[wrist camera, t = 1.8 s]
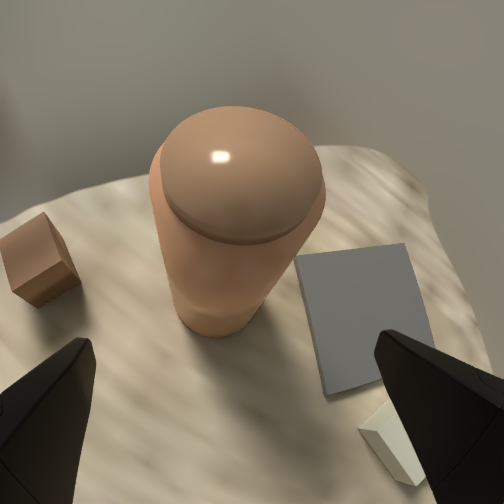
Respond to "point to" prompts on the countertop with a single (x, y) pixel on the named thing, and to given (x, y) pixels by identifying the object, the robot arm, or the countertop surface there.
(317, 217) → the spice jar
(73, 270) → the walnut cube
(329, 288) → the slate coaster
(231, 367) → the countertop surface
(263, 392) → the countertop surface
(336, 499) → the countertop surface
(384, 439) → the grey box
